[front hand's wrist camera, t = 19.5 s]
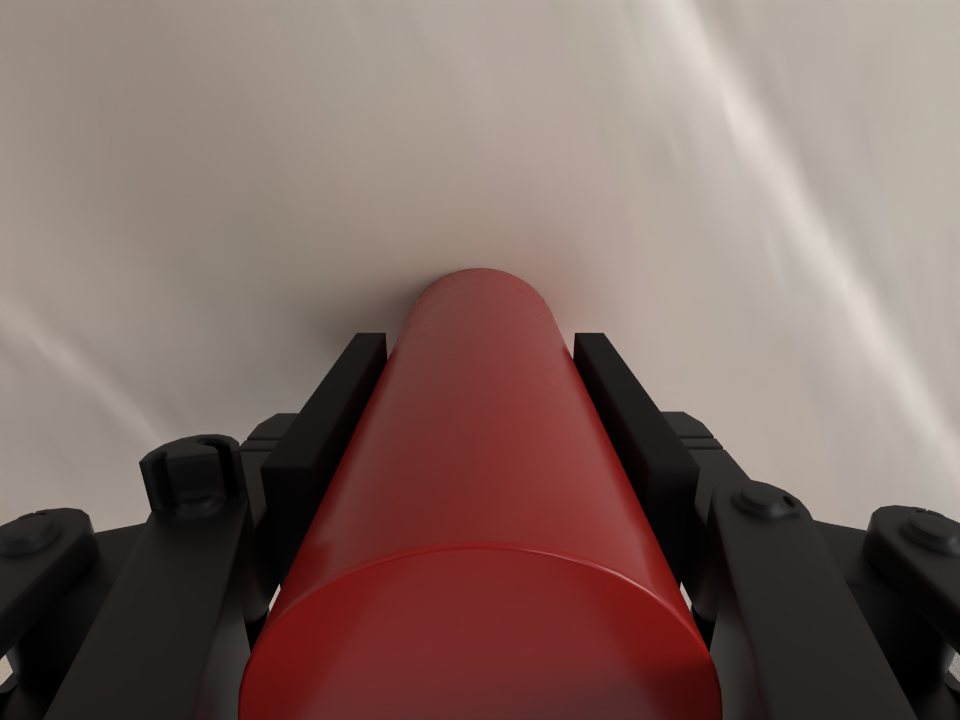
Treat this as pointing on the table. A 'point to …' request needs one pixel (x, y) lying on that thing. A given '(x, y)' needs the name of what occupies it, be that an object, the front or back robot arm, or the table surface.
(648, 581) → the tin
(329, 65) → the table surface
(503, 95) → the table surface
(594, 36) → the table surface
